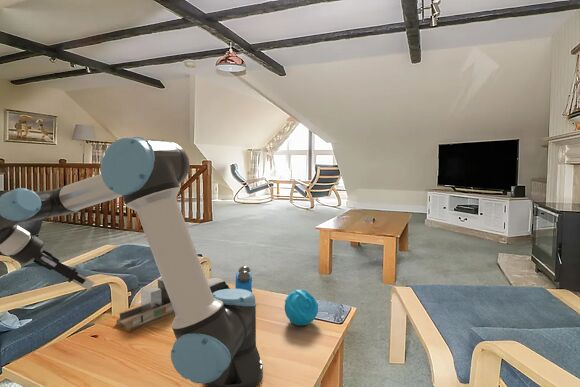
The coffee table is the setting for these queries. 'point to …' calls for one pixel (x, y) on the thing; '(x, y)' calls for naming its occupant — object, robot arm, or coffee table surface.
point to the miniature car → (217, 284)
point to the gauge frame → (147, 313)
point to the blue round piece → (301, 307)
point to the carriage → (150, 298)
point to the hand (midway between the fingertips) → (90, 286)
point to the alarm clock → (244, 279)
